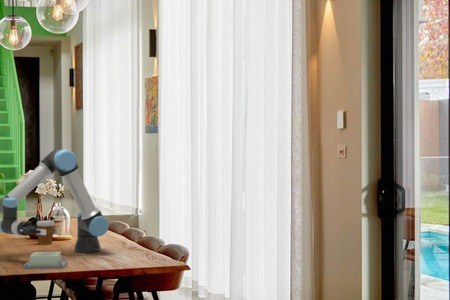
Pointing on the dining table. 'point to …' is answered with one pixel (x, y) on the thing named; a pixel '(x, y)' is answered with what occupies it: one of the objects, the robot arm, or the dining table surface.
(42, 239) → the disposable coffee cup
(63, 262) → the tower base
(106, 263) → the dining table surface
